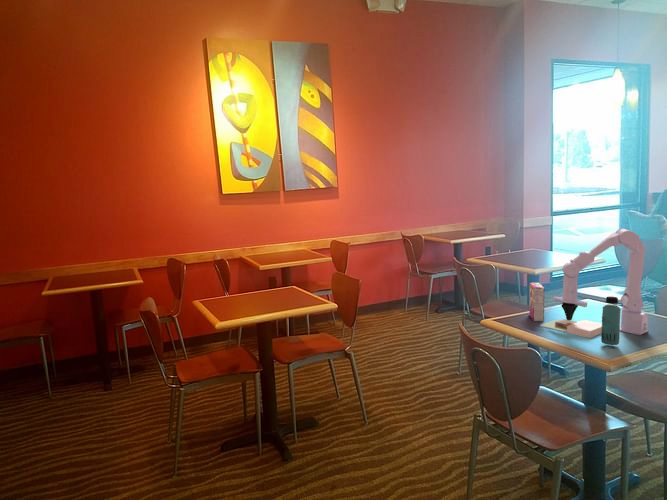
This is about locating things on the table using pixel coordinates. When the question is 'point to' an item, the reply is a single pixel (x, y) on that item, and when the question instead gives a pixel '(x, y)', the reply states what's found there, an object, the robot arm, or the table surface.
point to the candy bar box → (536, 301)
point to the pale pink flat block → (585, 328)
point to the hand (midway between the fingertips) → (569, 319)
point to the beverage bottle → (611, 322)
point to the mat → (553, 326)
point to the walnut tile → (564, 323)
